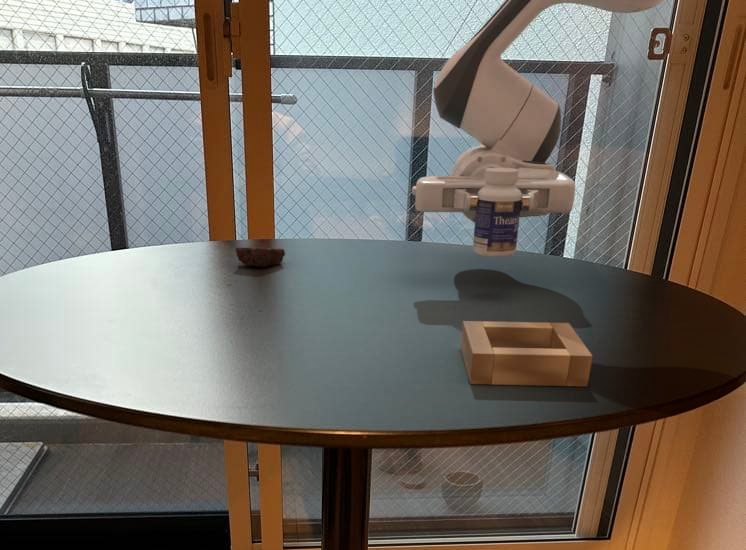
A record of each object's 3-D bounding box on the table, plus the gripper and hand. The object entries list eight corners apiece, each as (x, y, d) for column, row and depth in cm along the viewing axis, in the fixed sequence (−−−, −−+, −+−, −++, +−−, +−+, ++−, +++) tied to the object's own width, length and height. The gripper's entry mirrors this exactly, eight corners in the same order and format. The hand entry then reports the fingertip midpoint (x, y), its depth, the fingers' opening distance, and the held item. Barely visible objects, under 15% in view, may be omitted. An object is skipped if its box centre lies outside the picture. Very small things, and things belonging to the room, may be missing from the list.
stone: (228, 267, 118) (227, 244, 117) (251, 258, 124) (251, 237, 123) (268, 271, 116) (267, 249, 115) (290, 262, 122) (290, 240, 120)
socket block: (564, 351, 85) (569, 322, 83) (587, 386, 75) (592, 355, 74) (460, 348, 85) (462, 320, 84) (469, 384, 76) (472, 353, 74)
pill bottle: (492, 259, 98) (500, 173, 93) (463, 252, 102) (470, 168, 97) (524, 254, 101) (534, 170, 96) (495, 247, 105) (503, 165, 100)
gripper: (412, 162, 108) (415, 174, 96) (565, 163, 108) (587, 175, 96) (410, 212, 112) (413, 230, 100) (558, 213, 111) (579, 231, 99)
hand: (500, 203), depth 98 cm, fingers closed on pill bottle, 5 cm apart
